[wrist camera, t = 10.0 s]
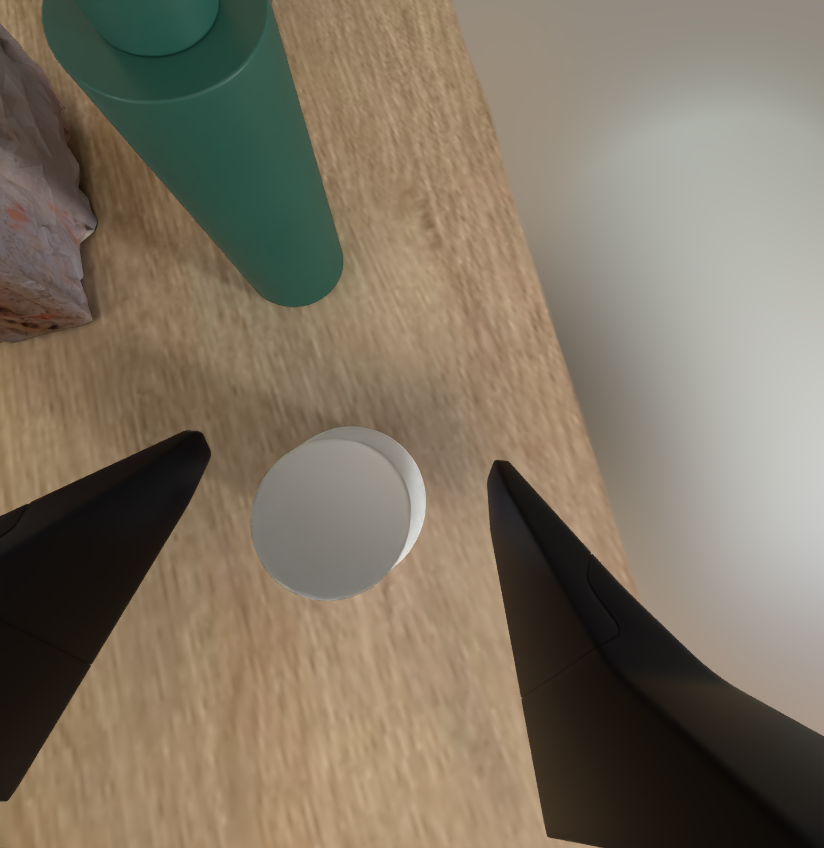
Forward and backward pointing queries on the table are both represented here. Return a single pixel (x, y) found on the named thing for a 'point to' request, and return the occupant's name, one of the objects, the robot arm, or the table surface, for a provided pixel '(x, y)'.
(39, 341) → the table surface
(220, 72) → the green bottle
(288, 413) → the table surface
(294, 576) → the pill bottle
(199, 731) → the table surface
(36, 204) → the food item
